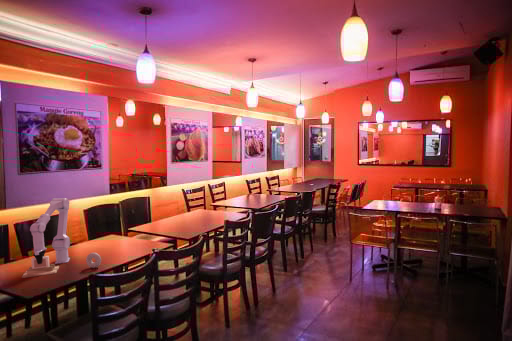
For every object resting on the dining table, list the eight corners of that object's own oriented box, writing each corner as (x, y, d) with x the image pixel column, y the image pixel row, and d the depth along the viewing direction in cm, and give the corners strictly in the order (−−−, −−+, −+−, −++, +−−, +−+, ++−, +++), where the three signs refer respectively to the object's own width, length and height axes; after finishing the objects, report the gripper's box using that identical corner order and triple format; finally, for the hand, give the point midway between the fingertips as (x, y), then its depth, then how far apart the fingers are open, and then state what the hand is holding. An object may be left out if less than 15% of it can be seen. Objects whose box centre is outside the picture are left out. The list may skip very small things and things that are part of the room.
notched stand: (27, 271, 219) (26, 266, 219) (59, 267, 225) (58, 261, 225) (21, 278, 208) (21, 272, 207) (55, 273, 214) (55, 267, 214)
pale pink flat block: (33, 268, 216) (32, 257, 215) (49, 266, 219) (48, 255, 218) (32, 269, 213) (31, 259, 213) (48, 267, 216) (47, 256, 216)
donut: (102, 266, 223) (101, 251, 222) (99, 268, 219) (98, 253, 218) (88, 266, 224) (87, 251, 223) (85, 268, 220) (84, 253, 220)
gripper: (43, 244, 210) (45, 265, 211) (48, 238, 223) (50, 258, 224) (30, 245, 207) (31, 267, 208) (36, 239, 221) (37, 260, 222)
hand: (40, 263), depth 216 cm, fingers closed on pale pink flat block, 2 cm apart
